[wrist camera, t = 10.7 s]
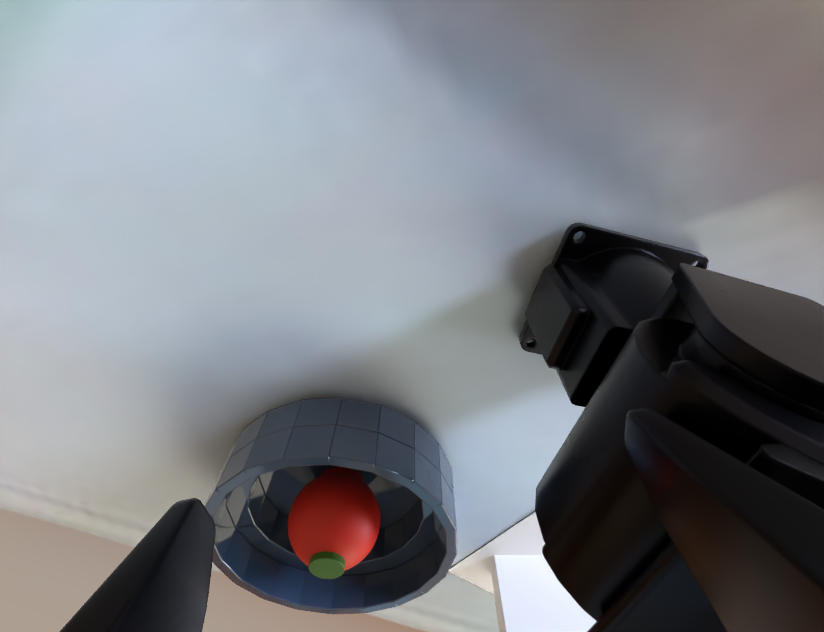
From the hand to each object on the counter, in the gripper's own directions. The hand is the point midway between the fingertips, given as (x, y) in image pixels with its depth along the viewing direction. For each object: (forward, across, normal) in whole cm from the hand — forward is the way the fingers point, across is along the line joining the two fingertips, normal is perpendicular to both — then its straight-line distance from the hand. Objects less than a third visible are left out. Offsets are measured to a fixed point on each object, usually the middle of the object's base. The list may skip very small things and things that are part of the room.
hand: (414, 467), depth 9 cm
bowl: (+12, +6, +14) cm, 19 cm away
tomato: (+12, +6, +14) cm, 19 cm away
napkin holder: (+10, -8, +27) cm, 30 cm away
